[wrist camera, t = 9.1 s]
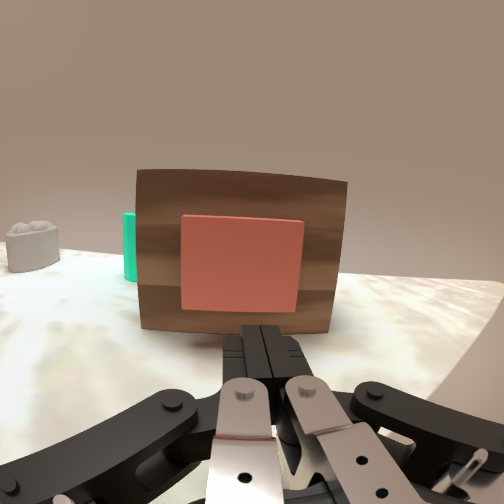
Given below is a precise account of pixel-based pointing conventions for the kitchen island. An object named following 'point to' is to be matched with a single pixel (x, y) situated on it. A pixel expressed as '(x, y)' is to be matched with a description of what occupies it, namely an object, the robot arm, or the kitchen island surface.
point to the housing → (235, 205)
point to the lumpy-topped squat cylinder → (32, 246)
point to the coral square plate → (240, 263)
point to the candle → (129, 246)
